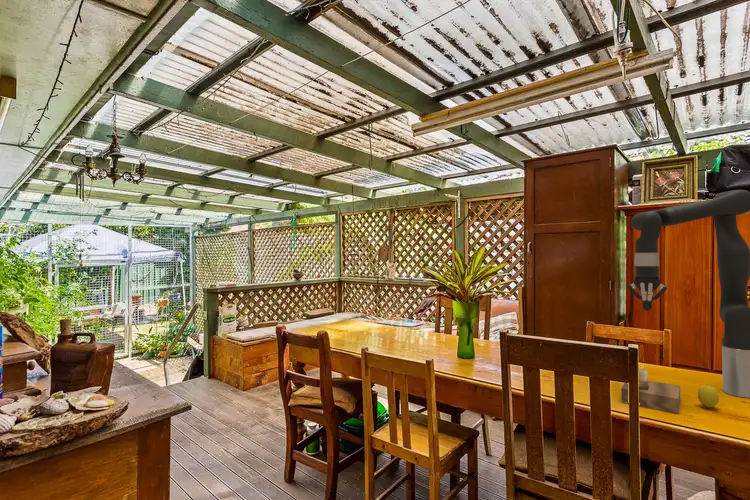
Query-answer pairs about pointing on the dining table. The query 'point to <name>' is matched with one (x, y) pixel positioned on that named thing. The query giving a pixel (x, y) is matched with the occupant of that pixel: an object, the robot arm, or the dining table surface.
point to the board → (657, 396)
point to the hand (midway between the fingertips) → (647, 310)
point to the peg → (643, 379)
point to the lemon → (708, 396)
